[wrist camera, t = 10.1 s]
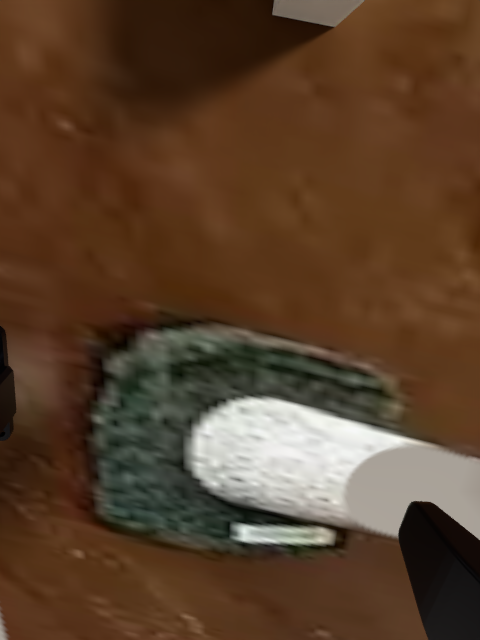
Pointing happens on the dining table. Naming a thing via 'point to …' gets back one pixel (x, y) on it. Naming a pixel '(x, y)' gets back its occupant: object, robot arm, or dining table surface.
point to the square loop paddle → (316, 10)
